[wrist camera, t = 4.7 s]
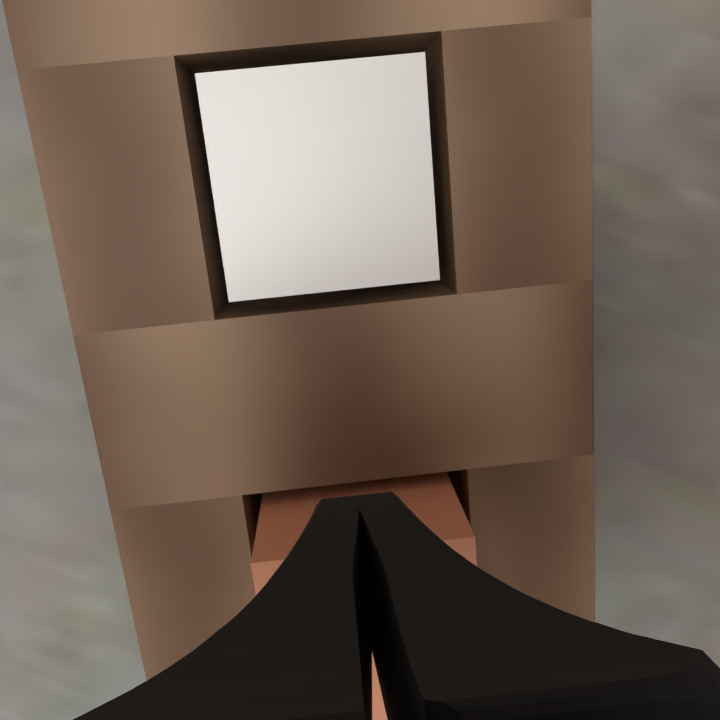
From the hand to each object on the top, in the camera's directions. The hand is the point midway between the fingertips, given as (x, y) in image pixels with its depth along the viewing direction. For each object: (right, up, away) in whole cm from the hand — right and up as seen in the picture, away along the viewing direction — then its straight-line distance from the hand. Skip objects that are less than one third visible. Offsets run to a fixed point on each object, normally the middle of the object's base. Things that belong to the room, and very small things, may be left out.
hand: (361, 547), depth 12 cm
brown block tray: (-1, +3, +8) cm, 8 cm away
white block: (-1, +8, +6) cm, 10 cm away
